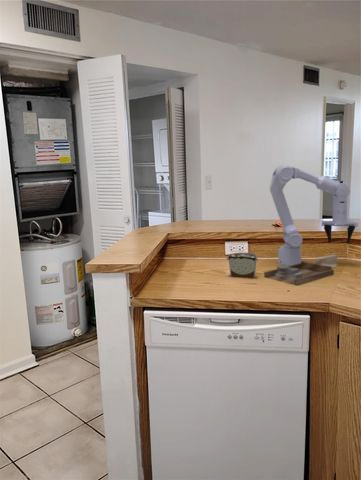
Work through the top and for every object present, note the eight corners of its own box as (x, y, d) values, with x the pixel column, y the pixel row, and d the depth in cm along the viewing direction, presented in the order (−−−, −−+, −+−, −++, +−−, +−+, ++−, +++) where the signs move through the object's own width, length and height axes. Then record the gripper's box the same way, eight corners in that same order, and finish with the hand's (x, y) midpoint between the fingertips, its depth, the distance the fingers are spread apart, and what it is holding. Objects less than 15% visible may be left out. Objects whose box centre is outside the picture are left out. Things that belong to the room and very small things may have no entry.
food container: (261, 277, 166) (261, 253, 165) (257, 281, 161) (257, 256, 159) (232, 275, 172) (231, 251, 170) (227, 279, 166) (226, 254, 164)
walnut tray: (264, 279, 163) (264, 269, 162) (300, 269, 175) (300, 260, 175) (296, 288, 150) (297, 277, 149) (333, 276, 162) (333, 267, 162)
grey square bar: (275, 277, 162) (275, 266, 161) (282, 275, 164) (282, 265, 164) (295, 282, 154) (295, 271, 153) (302, 280, 156) (302, 269, 155)
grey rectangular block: (315, 272, 171) (316, 258, 170) (332, 267, 177) (332, 254, 176) (320, 273, 169) (320, 259, 168) (337, 268, 175) (337, 255, 174)
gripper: (320, 212, 177) (319, 243, 179) (356, 213, 169) (355, 245, 172) (323, 210, 183) (323, 240, 185) (359, 211, 175) (358, 242, 178)
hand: (339, 242), depth 179 cm, fingers open, 7 cm apart
